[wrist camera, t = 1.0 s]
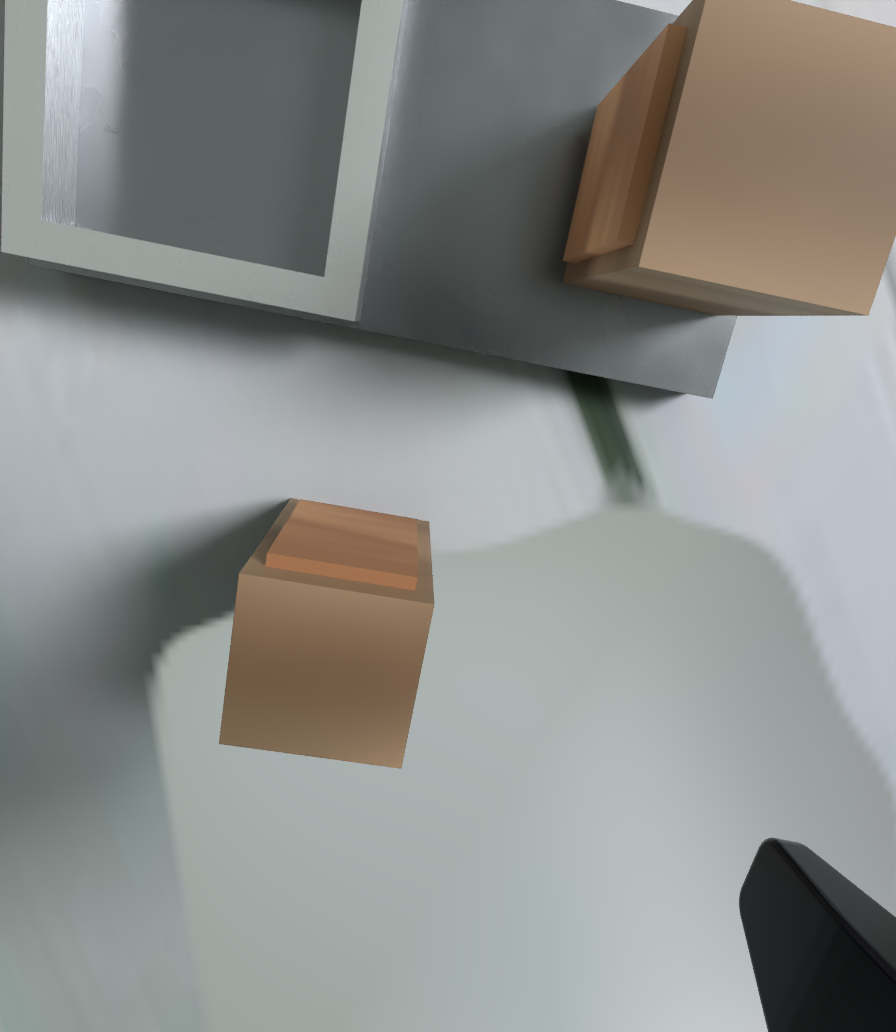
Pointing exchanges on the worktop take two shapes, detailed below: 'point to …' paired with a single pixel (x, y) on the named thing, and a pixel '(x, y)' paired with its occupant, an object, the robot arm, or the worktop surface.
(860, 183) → the brown wooden block
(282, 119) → the grey base plate
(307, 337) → the worktop surface
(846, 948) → the robot arm
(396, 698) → the tan wooden block
